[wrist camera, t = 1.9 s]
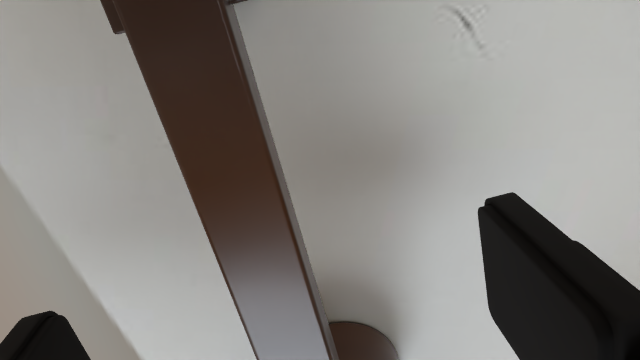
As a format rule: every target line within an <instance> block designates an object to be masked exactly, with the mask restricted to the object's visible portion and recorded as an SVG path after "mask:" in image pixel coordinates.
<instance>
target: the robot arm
mask: <svg viewBox="0 0 640 360" xmlns="http://www.w3.org/2000/svg"><path fill="white" fill-rule="evenodd" d="M478 219H479V228H480V237H481V246H482V254H483V263H484V272H485V281H486V290H487V298H488V306H489V310H490V313H491V316H492V318H493V320H494V322H495V323H496V325H497V326H498V328H499V329H500V331H501V332H502V334H503V335H504V337H505V338H506V340H507V341H508V343H509V344H510V346H511V347H512V349H513V350H514V352H515V353H516V355H517V356H518V358H519V359H520V360H640V291H639V290H638V289H637V288H636V287H634V286H633V285H632V284H631V283H629V282H628V281H627V280H626V279H624V278H623V277H622V276H621V275H619V274H618V273H617V272H616V271H614V270H613V269H612V268H611V267H610V266H608V265H607V264H606V263H605V262H603V261H602V260H601V259H600V258H598V257H597V256H596V255H595V254H593V253H592V252H591V251H590V250H589V249H587V248H586V247H585V246H584V245H582V244H581V243H579V242H577V241H573V240H571V239H570V238H569V237H568V236H567V235H565V234H564V233H563V232H562V231H560V230H559V229H558V228H557V227H556V226H554V225H553V224H552V223H551V222H549V221H548V220H547V219H546V218H545V217H543V216H542V215H541V214H540V213H539V212H537V211H536V210H535V209H534V208H532V207H531V206H530V205H529V204H528V203H526V202H525V201H524V200H523V199H521V198H520V197H519V196H518V195H517V194H515V193H513V192H512V193H507V194H503V195H499V196H495V197H492V198H488V199H486V200H485V206H483V207H479V209H478ZM0 360H91V359H90V358H89V356H88V354H87V353H86V351H85V349H84V347H83V346H82V345H81V342H80V341H79V339H78V337H77V336H76V334H75V332H74V331H73V329H72V327H71V325H70V324H69V322H68V320H67V319H66V318H65V317H64V316H62V315H58V314H57V313H55V312H53V311H47V312H43V313H39V314H35V315H31V316H28V317H24V318H22V319H21V320H20V321H18V323H17V324H16V325H15V326H14V328H13V329H12V330H11V331H10V332H9V334H8V335H7V336H6V337H5V339H4V340H3V341H2V342H1V344H0Z"/></svg>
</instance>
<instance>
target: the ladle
mask: <svg viewBox="0 0 640 360" xmlns="http://www.w3.org/2000/svg"><path fill="white" fill-rule="evenodd" d="M100 1H101V3H102V6H103V8H104V11H105V13H106V15H107V18H108V20H109V23H110V25H111V28H112V30H113V32H114V33H115V34H122V33H126V35H127V38H128V40H129V43H130V45H131V48H132V50H133V53H134V55H135V58H136V60H137V63H138V65H139V68H140V70H141V72H142V75H143V77H144V80H145V82H146V85H147V87H148V90H149V92H150V95H151V97H152V100H153V102H154V105H155V107H156V110H157V112H158V115H159V117H160V120H161V122H162V125H163V127H164V130H165V132H166V135H167V137H168V140H169V142H170V145H171V147H172V150H173V152H174V155H175V157H176V160H177V162H178V165H179V167H180V170H181V172H182V175H183V177H184V179H185V182H186V184H187V187H188V189H189V192H190V194H191V197H192V199H193V202H194V204H195V207H196V209H197V212H198V214H199V217H200V219H201V222H202V224H203V227H204V229H205V232H206V234H207V237H208V239H209V242H210V244H211V247H212V249H213V252H214V254H215V257H216V259H217V262H218V264H219V267H220V269H221V272H222V274H223V277H224V279H225V282H226V284H227V286H228V289H229V291H230V294H231V296H232V299H233V301H234V304H235V306H236V309H237V311H238V314H239V316H240V319H241V321H242V324H243V326H244V329H245V331H246V334H247V336H248V339H249V341H250V344H251V346H252V349H253V351H254V354H255V356H256V359H257V360H399V358H398V355H397V352H396V350H395V348H394V346H393V345H392V343H391V342H390V341H389V340H388V339H387V338H386V337H385V336H384V335H383V334H381V333H380V332H378V331H377V330H375V329H373V328H371V327H368V326H365V325H361V324H357V323H345V322H340V323H331V324H328V320H327V317H326V314H325V310H324V307H323V304H322V300H321V297H320V294H319V290H318V287H317V284H316V280H315V277H314V274H313V270H312V267H311V264H310V260H309V257H308V254H307V250H306V247H305V244H304V240H303V237H302V234H301V230H300V227H299V224H298V220H297V217H296V214H295V210H294V207H293V204H292V200H291V197H290V193H289V190H288V187H287V183H286V180H285V177H284V173H283V170H282V167H281V163H280V160H279V157H278V153H277V150H276V147H275V143H274V140H273V137H272V133H271V130H270V127H269V123H268V120H267V117H266V113H265V110H264V107H263V103H262V100H261V97H260V93H259V90H258V87H257V83H256V80H255V77H254V73H253V70H252V66H251V63H250V60H249V56H248V53H247V50H246V46H245V43H244V40H243V36H242V33H241V30H240V26H239V23H238V20H237V16H236V13H235V10H234V6H233V4H235V3H239V2H243V1H247V0H100Z"/></svg>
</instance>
